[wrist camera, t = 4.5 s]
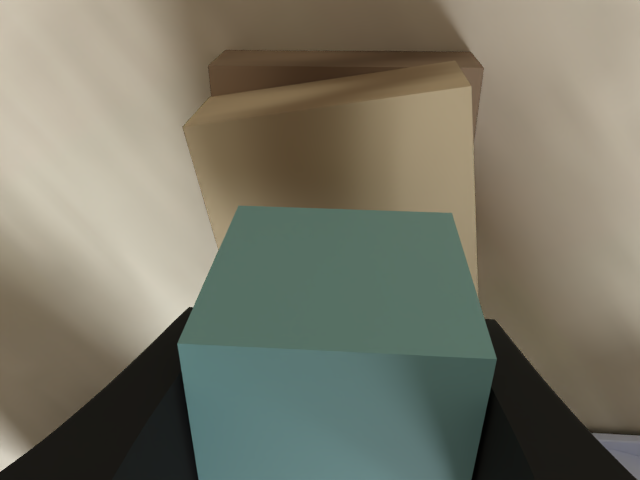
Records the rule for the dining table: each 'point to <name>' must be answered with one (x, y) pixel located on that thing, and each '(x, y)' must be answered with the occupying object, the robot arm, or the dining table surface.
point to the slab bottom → (326, 68)
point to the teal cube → (337, 349)
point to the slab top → (342, 147)
